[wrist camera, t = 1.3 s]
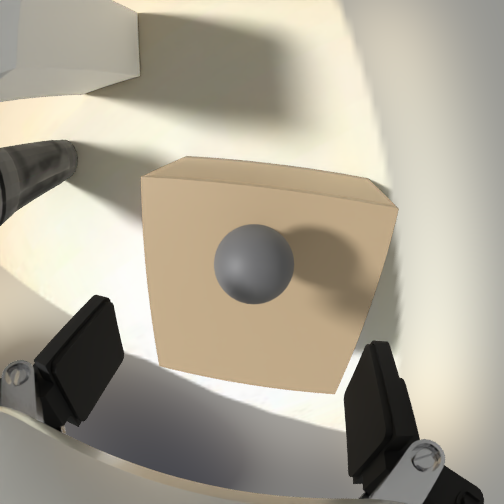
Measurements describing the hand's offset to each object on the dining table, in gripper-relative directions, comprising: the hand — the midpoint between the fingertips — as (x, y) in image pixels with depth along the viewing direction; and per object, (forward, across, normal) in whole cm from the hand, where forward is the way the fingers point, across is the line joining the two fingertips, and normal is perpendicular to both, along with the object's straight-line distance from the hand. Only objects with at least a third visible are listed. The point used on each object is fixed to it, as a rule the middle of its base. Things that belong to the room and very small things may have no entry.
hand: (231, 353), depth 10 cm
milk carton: (+18, +17, -14) cm, 29 cm away
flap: (+10, 0, +5) cm, 11 cm away
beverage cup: (+18, +23, -3) cm, 30 cm away
